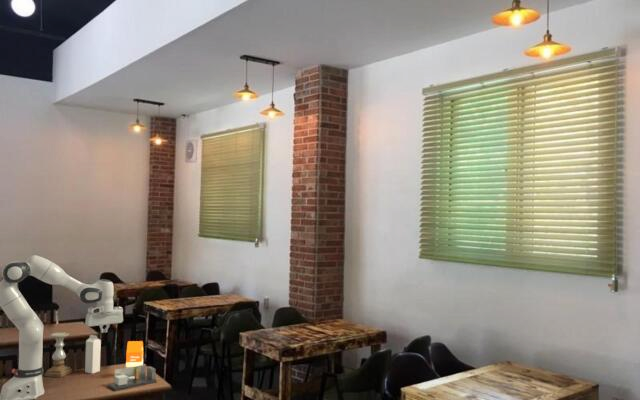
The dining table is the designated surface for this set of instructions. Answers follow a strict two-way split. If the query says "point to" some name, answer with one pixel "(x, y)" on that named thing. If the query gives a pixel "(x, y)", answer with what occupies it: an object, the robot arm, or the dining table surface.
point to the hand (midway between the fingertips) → (104, 332)
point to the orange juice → (134, 353)
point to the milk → (92, 354)
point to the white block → (122, 379)
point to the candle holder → (59, 357)
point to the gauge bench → (135, 382)
